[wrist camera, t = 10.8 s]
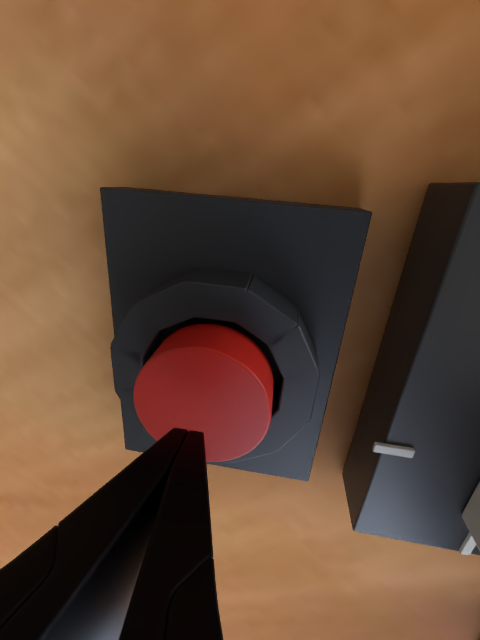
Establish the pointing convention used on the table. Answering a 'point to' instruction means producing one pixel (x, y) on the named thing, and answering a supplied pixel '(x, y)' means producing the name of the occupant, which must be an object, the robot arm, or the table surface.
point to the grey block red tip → (473, 515)
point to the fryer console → (425, 387)
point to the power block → (235, 298)
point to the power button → (208, 389)
